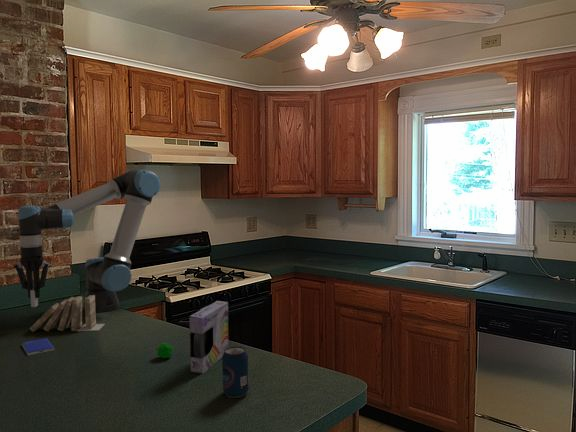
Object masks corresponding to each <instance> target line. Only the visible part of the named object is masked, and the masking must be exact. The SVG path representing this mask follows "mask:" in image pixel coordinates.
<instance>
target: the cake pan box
mask: <svg viewBox="0 0 576 432" xmlns="http://www.w3.org/2000/svg"><path fill="white" fill-rule="evenodd" d="M189 348H190V349H189V353H190V354H189V358H190V372H191V373H196V374H204V373H205V372H207V371H208V370H209V369H210V368H212V366H214V365H215V364H216V363H218V361H220V360H222V356H223V354H224V350H225V349H226V348H229V302H228V301H222V300H216V301H215V302H213V303H211V304H209V305H206V306H204V307H202V308H201V309H199V310H198V311H197V312H195V313H192V314H191V315H189Z"/></svg>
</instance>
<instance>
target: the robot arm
mask: <svg viewBox="0 0 576 432" xmlns="http://www.w3.org/2000/svg"><path fill="white" fill-rule="evenodd" d="M160 190H161V181H160V178H159V176H158V175H157V174H156V173H155V172H153V171H152V170H147V169H140V170H139V169H137V170H134V169H133V170H129V171H126V172H124V173H122V174H120V175H118V176H116V177H114V178H111V179H109V180H108V182H106V183H103V184H102V185H99V186H97V187H94V188H92V189H89V190H87V191H85V192H82V193H80V194H77V195H74V196H72V197H70V198H67V199H64V200H61V201H59V202H57V203H54V204H51V205H49V206H47V207H40V205H22V206H20V207H19V208H18V210H17V211H18V213H17V214H18V217H17V219H18V230H19V246H20V249H19V250H20V259H19V262H18V263H16V264H14V266H13V267H14V269H15V271H16V272H17V275H18V278H19V281H20V284H21V287H22V289H24V290H27V295H28V296H27V297H28V299H30V307H31V308H36V307H38V306H39V298H40V297H41V291H40V289H42V288H44V287H45V285H46V280H47V275H48V270H49V268H50V267H51V263H50V262H47V261H45V259H44V257H43V246H42V244H43V240H42V239H43V237H42V230H53V229H66V228H71V227H73V225H74V223H75V222H74V221H75V217H74V216H77V215H78V214H81V213H84V212H86V211H89V210H90V209H93V208H95V207H98V206H101V205H102V204H103V205H104V204H105V203H107V202H109V201H112V200H115V199H116V200H121V199H122V198H125V200H126V201H125V204H124V207H123V211H122V213H121V215H120V216H121V217H120V219H119V223H118V226H117V228H116V232H115V234H114V238H113V241H112V244H111V246H110V251H109V252H108V253H107V254H104V256H101V257H93V258H88V259H86V260H85V265H84V266H85V267H84V268H85V282H86V283H85V284H86V294H85V298H87V297H88V296H89V295H95V310H96V313H104V312H110V311H113V310H116V309H118V308H119V307H120V302H119V299H118V296H117V293H116V292H120V291H123V290H124V289H126V288H127V287H128V286H129V285H130V283H131V281H132V272H131V267H132V261H131V259H130V258H131V255H132V251H133V248H134V245H135V242H136V238H137V236H138V233H139V229H140V228H141V227H140V226H141V223H142V220H143V217H144V214H145V212H146V211H145V210H146V207H147V206H149V205H151V203H152V201H153V197H154V196H156V195H158V194H159V192H160ZM41 267H42V270H41V273H40V268H41ZM24 270H25V271H24ZM25 273H26V274H25ZM85 298H84V299H85ZM82 311H84V312H85V300H84V302H83V303H82Z"/></svg>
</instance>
